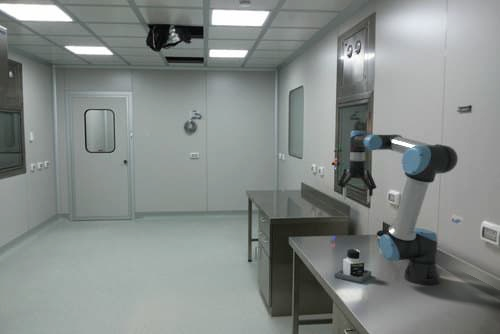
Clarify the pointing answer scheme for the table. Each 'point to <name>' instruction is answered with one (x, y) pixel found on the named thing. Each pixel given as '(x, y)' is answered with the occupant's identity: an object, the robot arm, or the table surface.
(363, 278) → the tray
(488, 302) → the table surface
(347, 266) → the medicine bottle
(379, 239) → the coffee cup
